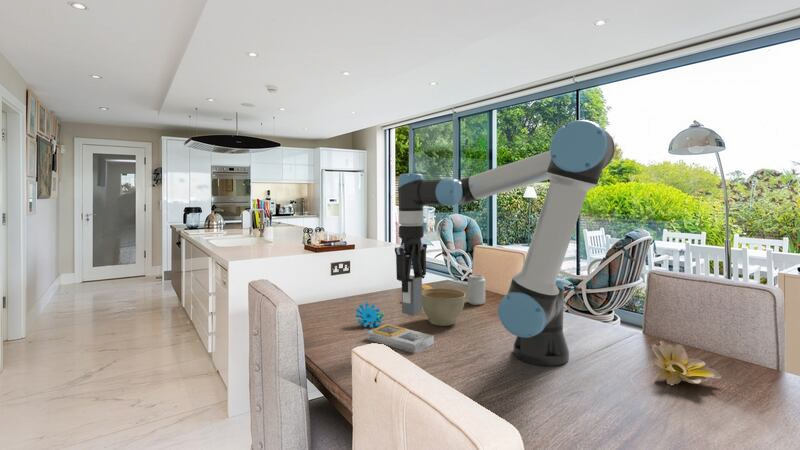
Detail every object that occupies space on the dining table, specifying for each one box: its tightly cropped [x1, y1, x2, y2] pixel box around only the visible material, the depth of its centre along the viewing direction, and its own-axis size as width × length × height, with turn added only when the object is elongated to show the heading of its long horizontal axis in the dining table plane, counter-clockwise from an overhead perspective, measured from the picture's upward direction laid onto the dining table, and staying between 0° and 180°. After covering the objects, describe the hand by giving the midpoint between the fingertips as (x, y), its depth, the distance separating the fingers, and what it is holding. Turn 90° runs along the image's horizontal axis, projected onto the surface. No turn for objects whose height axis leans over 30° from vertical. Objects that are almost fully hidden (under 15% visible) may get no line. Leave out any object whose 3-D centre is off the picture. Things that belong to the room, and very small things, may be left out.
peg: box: [401, 274, 423, 316], centre depth 126 cm, size 4×4×11 cm
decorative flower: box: [651, 340, 722, 385], centre depth 101 cm, size 15×11×10 cm
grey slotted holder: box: [366, 323, 435, 354], centre depth 130 cm, size 19×10×3 cm, turn 51°
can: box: [467, 274, 486, 306], centre depth 175 cm, size 8×8×12 cm
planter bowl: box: [422, 287, 466, 327], centre depth 149 cm, size 16×16×11 cm
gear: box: [355, 302, 386, 329], centre depth 147 cm, size 11×6×10 cm
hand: (412, 300), depth 126 cm, fingers closed on peg, 4 cm apart
